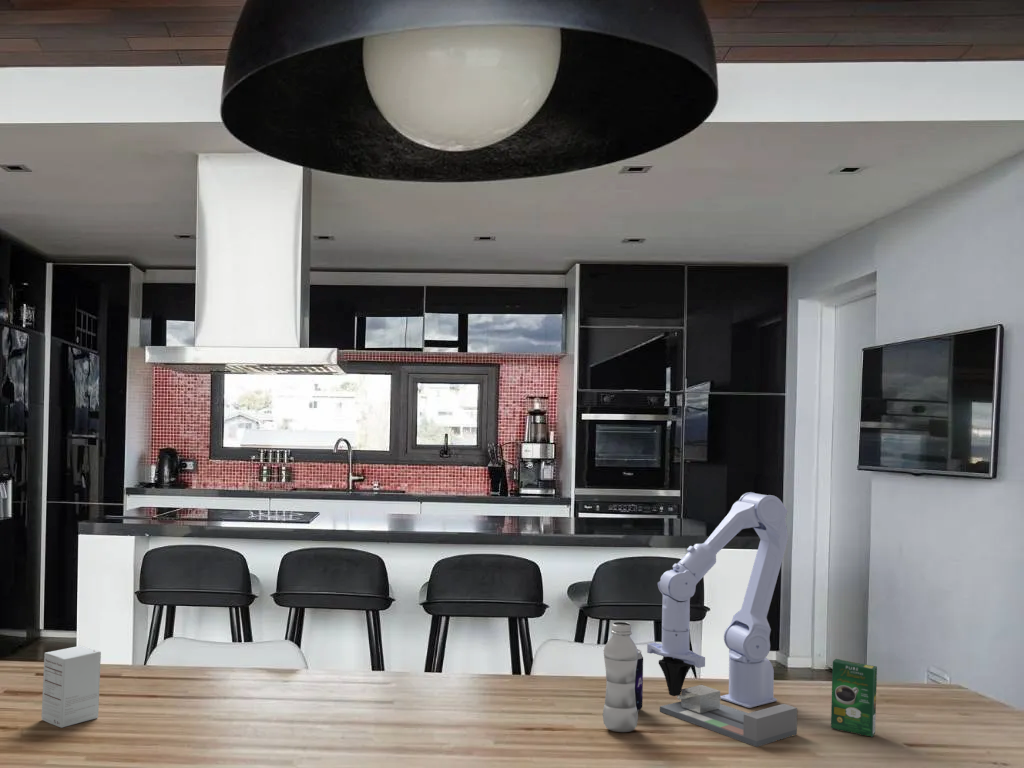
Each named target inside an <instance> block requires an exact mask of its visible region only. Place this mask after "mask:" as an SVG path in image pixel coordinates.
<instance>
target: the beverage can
mask: <svg viewBox="0 0 1024 768" xmlns="http://www.w3.org/2000/svg"><path fill="white" fill-rule="evenodd" d="M637 650H638V658H637V659H638V660H637V667H636V675H635V698H636V707H637V712H638V713H639V711H640V710H642V709H643V704H644V703H643V697H644V696H643V692H644V689H643V688H644V657H643V654H642V650H641V649H638V648H637Z"/></svg>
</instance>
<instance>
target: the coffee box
mask: <svg viewBox="0 0 1024 768" xmlns="http://www.w3.org/2000/svg"><path fill="white" fill-rule="evenodd" d="M877 672H878V666H876V665H870V664H865V663H860V662H855V661H850V660H849V661H848V660H844V659H839V658H835V659H834V660H833V661H832V674H831V705H830V706H831V709H830V710H831V713H830V729H833V728H834V730H837V731H840V730H843V731H842V732H847V733H851V732H852V733H851V734H856V733H857V735H860V734H861V736H863V735H866V736H867V737H869V736H871V738H873V737H874V735H875V734H876V721H877V720H876V717H877V715H876V714H877V711H876V710H877V684H878V683H877V681H878V677H877V675H878V673H877Z"/></svg>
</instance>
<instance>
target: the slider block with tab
mask: <svg viewBox="0 0 1024 768" xmlns="http://www.w3.org/2000/svg"><path fill="white" fill-rule="evenodd" d="M720 696H721V690H718V689H716V688H712V687H709V686H707V685H703V684H699V685H694V686H691V687H685V688H682V689H681V694H680V695H678V696H676V698H677V700H680V702H681V707H683V708H686V709H689V710H692V711H694V712H697V713H704V712H708V711H712V710H716V709H720V704H721V699H720Z"/></svg>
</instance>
